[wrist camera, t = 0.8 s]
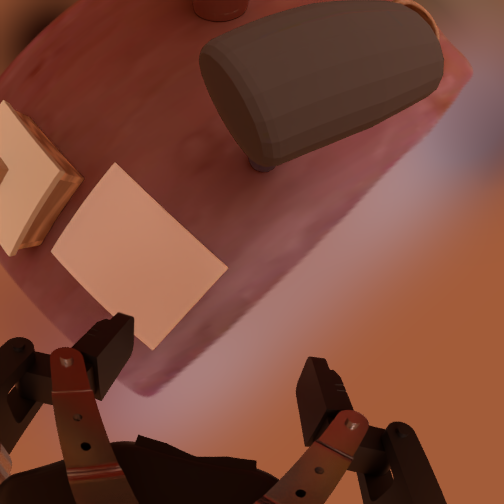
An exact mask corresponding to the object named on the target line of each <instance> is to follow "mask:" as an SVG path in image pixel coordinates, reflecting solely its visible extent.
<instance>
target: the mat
mask: <svg viewBox="0 0 504 504" xmlns="http://www.w3.org/2000/svg"><path fill="white" fill-rule="evenodd" d="M51 252H52V254H53V255H54V256H55V257H56V258H57V259H58V260H59V262H60V263H61V264H62V265H63V266H64V267H65V268H66V269H67V270H68V271H69V273H70V274H71V275H72V276H73V277H74V278H75V279H76V280H77V281H78V282H79V283H80V284H81V285H82V286H83V287H84V288H85V289H86V290H87V291H88V292H89V293H90V294H91V295H92V296H93V297H94V298H95V299H96V300H97V301H98V302H99V303H100V304H101V305H102V306H103V307H104V308H105V309H106V310H107V311H108V312H109V313H110V314H111V315H113V316H115V315H116V314H117V313H118V312H120V313H123V314H127V315H130V316H133V317H134V335H135V336H136V337H137V338H138V339H140V340H141V341H142V342H143V343H144V344H146V345H147V346H148V347H149V348H151V349H152V350H154V349H155V348H156V347H157V345H158V344H159V343H160V342H161V341H162V340H163V339H164V338H165V337H166V336H167V334H168V333H169V332H170V331H171V330H172V329H173V328H174V327H175V326H176V325H177V323H178V322H179V321H180V320H181V319H182V318H183V317H184V316H185V315H186V314H187V313H188V311H189V310H190V309H191V308H192V307H193V306H194V305H195V304H196V303H197V302H198V301H199V299H200V298H201V297H202V296H203V295H204V294H205V293H206V292H207V291H208V290H209V289H210V287H211V286H212V285H213V284H214V283H215V282H216V281H217V280H218V279H219V278H220V277H221V276H222V274H223V273H224V272H225V271H226V270H227V269H228V267H227V266H226V265H225V264H224V263H223V262H222V261H220V260H219V259H218V258H217V257H216V256H215V255H214V254H213V253H212V252H210V251H209V250H208V249H207V248H206V247H205V246H204V245H203V244H202V243H201V242H199V241H198V240H197V239H196V238H195V237H194V236H193V235H192V234H191V233H190V232H189V231H187V230H186V229H185V228H184V227H183V226H182V225H181V224H180V223H179V222H178V221H177V220H176V219H175V218H173V217H172V216H171V215H170V214H169V213H168V212H167V211H166V210H165V209H164V208H163V207H162V206H161V205H160V204H158V203H157V202H156V201H155V200H154V199H153V198H152V197H151V196H150V195H149V194H148V193H147V192H146V191H145V190H144V189H143V188H142V187H141V186H139V185H138V184H137V183H136V182H135V181H134V180H133V179H132V178H131V177H130V176H129V175H128V174H127V173H126V172H125V171H124V170H123V169H122V168H121V167H120V166H119V165H118V164H117V163H114V164H113V165H112V166H111V168H110V169H109V170H108V171H107V172H106V174H105V175H104V176H103V177H102V179H101V180H100V181H99V182H98V184H97V185H96V186H95V188H94V189H93V190H92V192H91V193H90V194H89V196H88V197H87V198H86V200H85V201H84V202H83V204H82V205H81V206H80V208H79V209H78V211H77V212H76V214H75V215H74V216H73V218H72V219H71V221H70V222H69V224H68V225H67V227H66V228H65V230H64V231H63V233H62V234H61V236H60V237H59V239H58V241H57V242H56V244H55V245H54V247H53V249H52V250H51Z"/></svg>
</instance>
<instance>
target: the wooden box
mask: <svg viewBox="0 0 504 504" xmlns="http://www.w3.org/2000/svg"><path fill="white" fill-rule="evenodd" d="M15 112H16V113H17V114H18V116H19V117H20V118H21V119H22V121H23V122H24V123H25V125H26V126H27V127H28V128H29V130H30V131H31V132H32V133H33V134H34V136H35V137H36V138H37V139H38V141H39V142H40V143H41V144H42V145H43V147H44V148H45V149H46V150H47V151H48V152H49V154H50V155H51V156H52V157H53V158H54V159H55V161H56V162H57V163H58V164H59V165H60V166H61V167H62V169H63V170H64V171H65V174H64V175H63V176H62V178H61V179H60V181H59V182H58V183H57V185H56V186H55V188H54V189H53V191H52V192H51V194H50V195H49V197H48V198H47V200H46V202H45V203H44V205H43V206H42V208H41V210H40V211H39V213H38V215H37V216H36V218H35V220H34V221H33V223H32V225H31V227H30V228H29V230H28V232H27V234H26V236H25V237H24V239H23V241H22V243H21V245H20V247H19V249H23V248H28V247H33V246H38V245H41V243H42V242H43V240H44V238H45V237H46V235H47V233H48V232H49V230H50V228H51V227H52V225H53V224H54V222H55V220H56V219H57V217H58V216H59V214H60V213H61V211H62V210H63V208H64V207H65V205H66V204H67V202H68V201H69V200H70V198H71V197H72V195H73V194H74V192H75V191H76V190H77V188H78V187H79V186H80V184H81V183H82V182H83V180H84V178H83V177H82V176H81V175H80V174H79V172H78V171H77V170H76V169H75V168H74V167H73V166H72V165H71V164H70V163H69V162H68V161H67V159H66V158H65V157H64V156H63V155H62V154H61V153H60V152H59V151H58V149H57V148H56V147H55V146H54V145H53V144H52V143H51V141H50V140H49V139H48V138H47V137H46V136H45V135H44V133H43V132H42V131H41V130H40V129H39V127H38V126H37V125H36V124H35V123H34V122H33V120H32V119H31V118H30V117H28V116H26V115H24V114H22V113H20V112H18V111H16V110H15Z"/></svg>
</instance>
